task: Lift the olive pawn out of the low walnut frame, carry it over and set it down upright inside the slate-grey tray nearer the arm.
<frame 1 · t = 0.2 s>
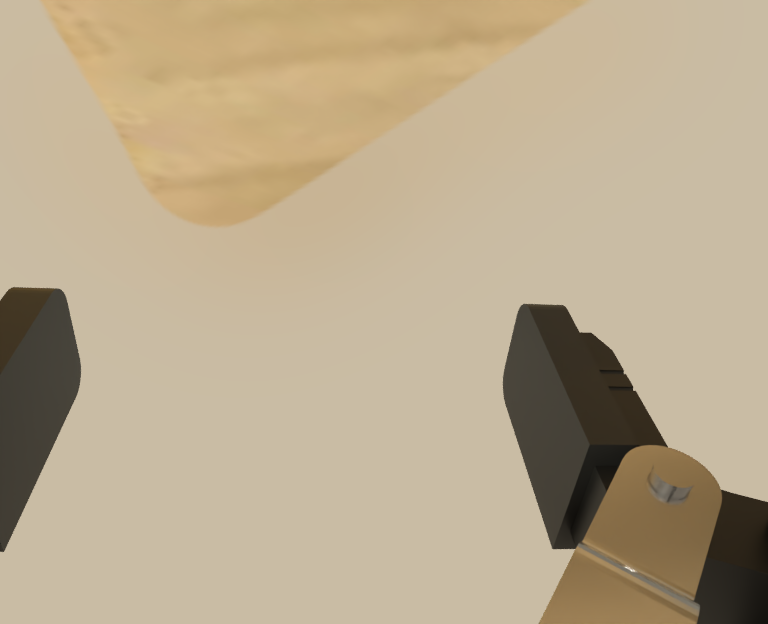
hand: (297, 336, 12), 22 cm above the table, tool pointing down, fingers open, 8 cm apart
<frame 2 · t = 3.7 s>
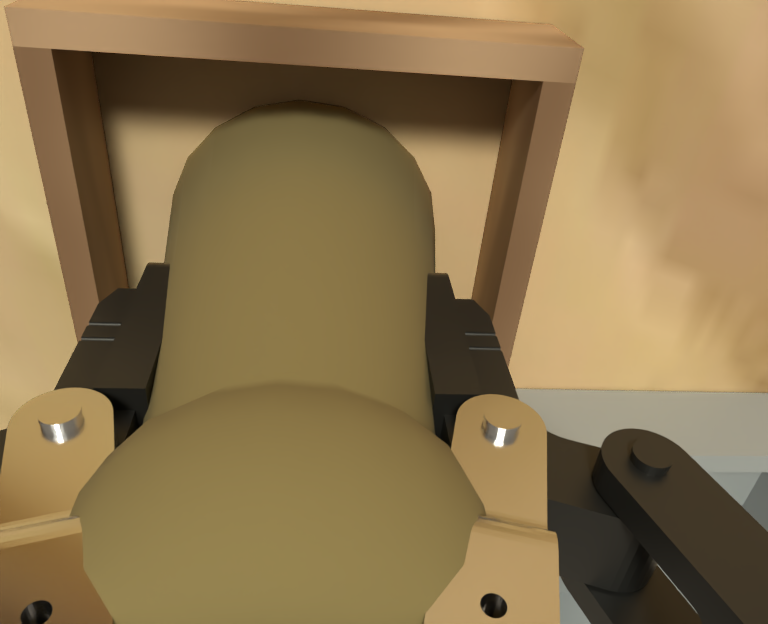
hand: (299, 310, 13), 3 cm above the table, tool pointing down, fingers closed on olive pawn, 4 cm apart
olive pawn: (305, 227, 16), resting in walnut frame, touching gripper
walnut frame: (305, 230, 15), on the table
grey tray: (608, 502, 22), on the table
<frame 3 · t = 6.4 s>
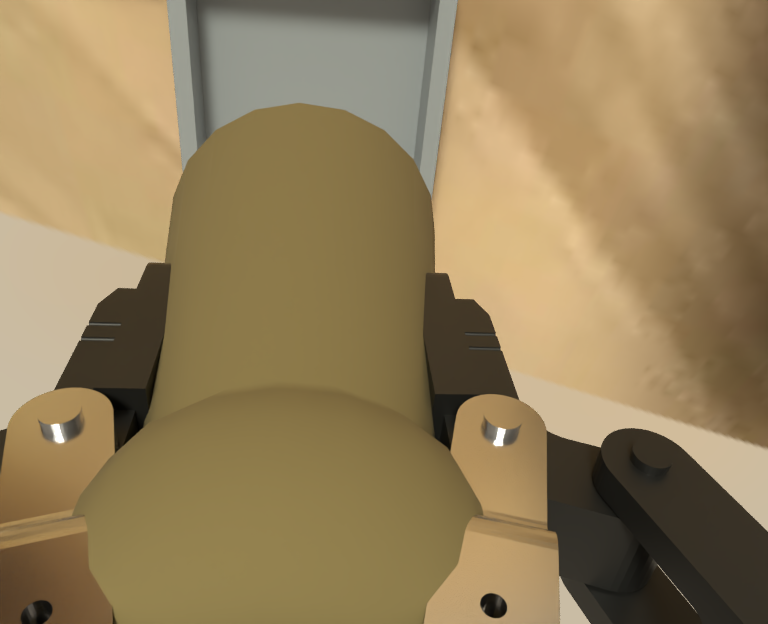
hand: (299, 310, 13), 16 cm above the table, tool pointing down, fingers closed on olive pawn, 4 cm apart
olive pawn: (305, 229, 16), point 13 cm above the table, touching gripper
grey tray: (313, 81, 26), on the table
when the fingers open (5 cm above the table, at t = 9.0 s): olive pawn drops 1 cm, resting on grey tray.
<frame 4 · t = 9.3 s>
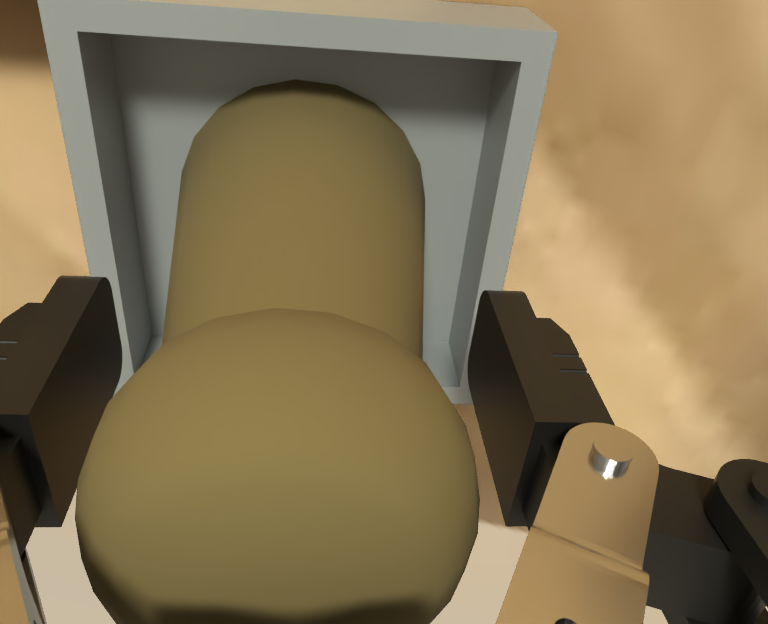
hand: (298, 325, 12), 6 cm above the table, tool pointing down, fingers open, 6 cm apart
olive pawn: (305, 199, 17), resting on grey tray
grey tray: (306, 195, 17), on the table
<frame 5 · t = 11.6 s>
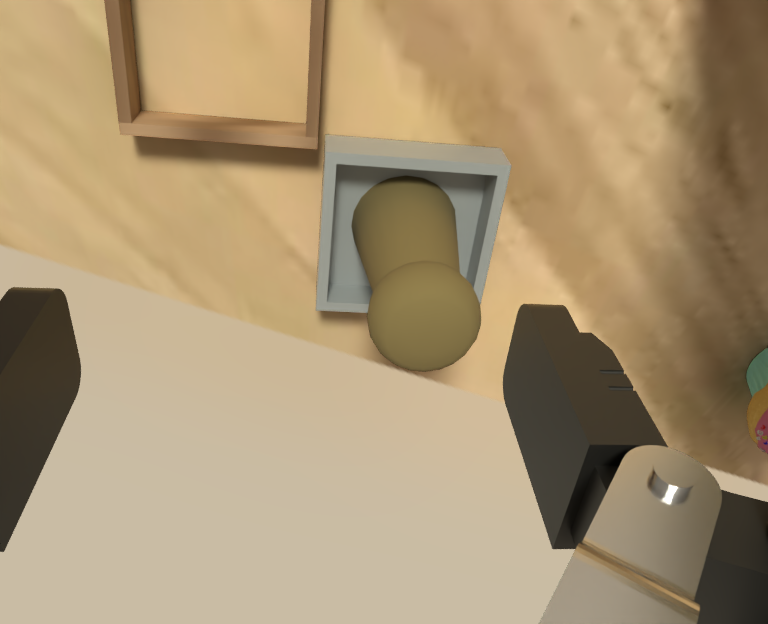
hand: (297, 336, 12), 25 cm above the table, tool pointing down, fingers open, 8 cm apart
olive pawn: (403, 223, 38), resting on grey tray
walnut frame: (222, 31, 32), on the table
grey tray: (403, 221, 39), on the table
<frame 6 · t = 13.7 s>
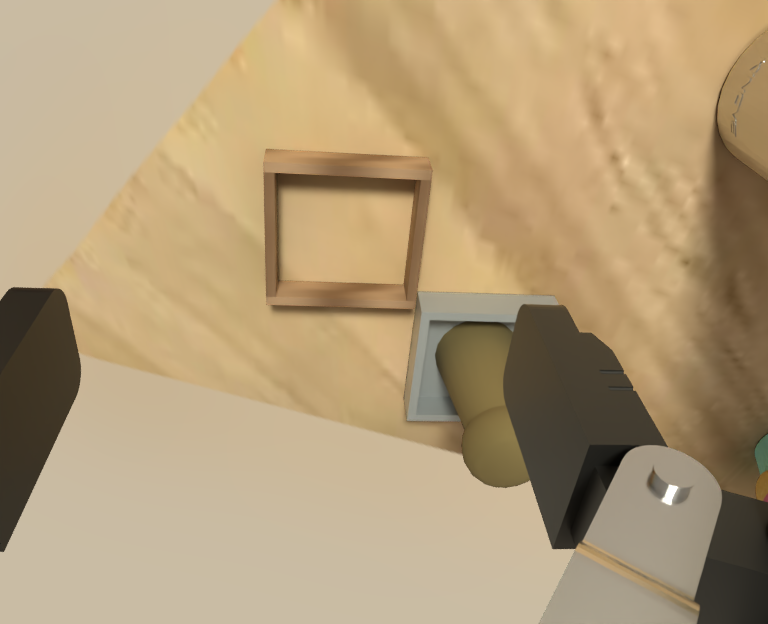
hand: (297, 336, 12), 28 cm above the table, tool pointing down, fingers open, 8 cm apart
olive pawn: (476, 351, 48), resting on grey tray
walnut frame: (344, 226, 42), on the table
grey tray: (475, 349, 48), on the table
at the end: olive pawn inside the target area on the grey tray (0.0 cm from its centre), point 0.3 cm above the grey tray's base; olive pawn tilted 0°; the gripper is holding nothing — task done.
